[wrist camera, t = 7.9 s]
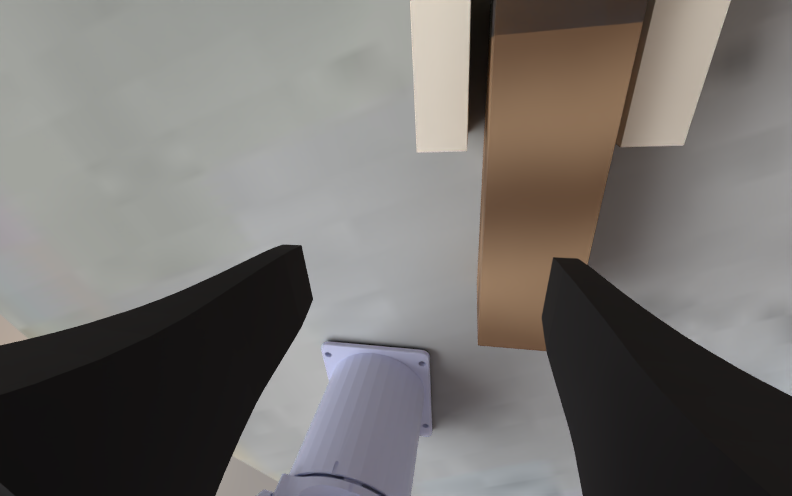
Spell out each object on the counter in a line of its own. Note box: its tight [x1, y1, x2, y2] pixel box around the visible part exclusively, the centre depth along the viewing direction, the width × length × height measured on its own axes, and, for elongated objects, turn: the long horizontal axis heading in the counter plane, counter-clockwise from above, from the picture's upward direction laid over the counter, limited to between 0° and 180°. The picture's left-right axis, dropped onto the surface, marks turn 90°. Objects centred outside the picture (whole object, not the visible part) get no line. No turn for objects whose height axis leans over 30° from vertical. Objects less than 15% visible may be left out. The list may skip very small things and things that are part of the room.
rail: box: [477, 0, 648, 351], centre depth 15 cm, size 14×4×5 cm, turn 5°
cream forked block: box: [410, 0, 731, 153], centre depth 12 cm, size 8×10×6 cm
